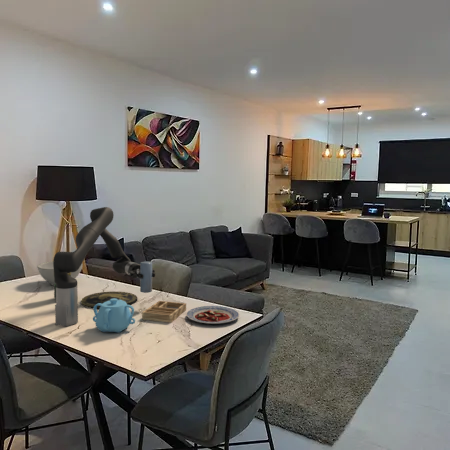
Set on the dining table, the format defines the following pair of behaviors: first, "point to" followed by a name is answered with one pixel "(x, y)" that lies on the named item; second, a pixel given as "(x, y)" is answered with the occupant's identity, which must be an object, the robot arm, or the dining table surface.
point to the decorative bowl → (52, 271)
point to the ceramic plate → (212, 314)
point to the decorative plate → (107, 298)
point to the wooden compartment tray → (164, 311)
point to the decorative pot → (113, 316)
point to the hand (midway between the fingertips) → (148, 275)
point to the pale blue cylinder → (146, 277)
